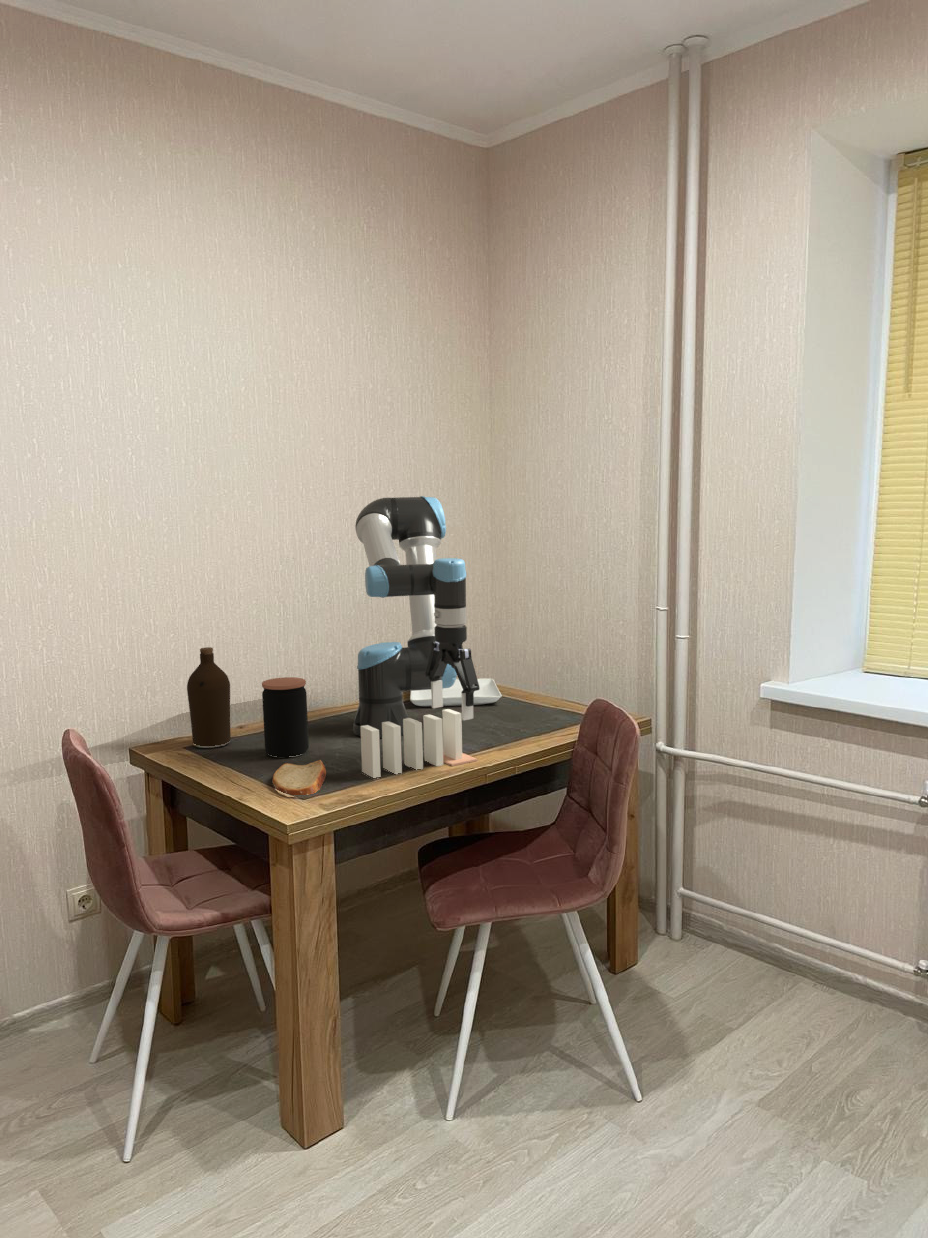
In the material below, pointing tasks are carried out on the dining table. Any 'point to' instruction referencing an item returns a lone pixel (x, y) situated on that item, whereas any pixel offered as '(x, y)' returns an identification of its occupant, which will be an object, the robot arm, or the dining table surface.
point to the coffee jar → (285, 716)
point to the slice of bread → (300, 778)
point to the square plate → (459, 694)
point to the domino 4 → (433, 740)
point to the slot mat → (458, 762)
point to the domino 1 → (370, 751)
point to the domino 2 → (391, 747)
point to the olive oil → (209, 702)
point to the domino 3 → (413, 743)
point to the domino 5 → (452, 734)
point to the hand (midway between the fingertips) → (452, 713)
